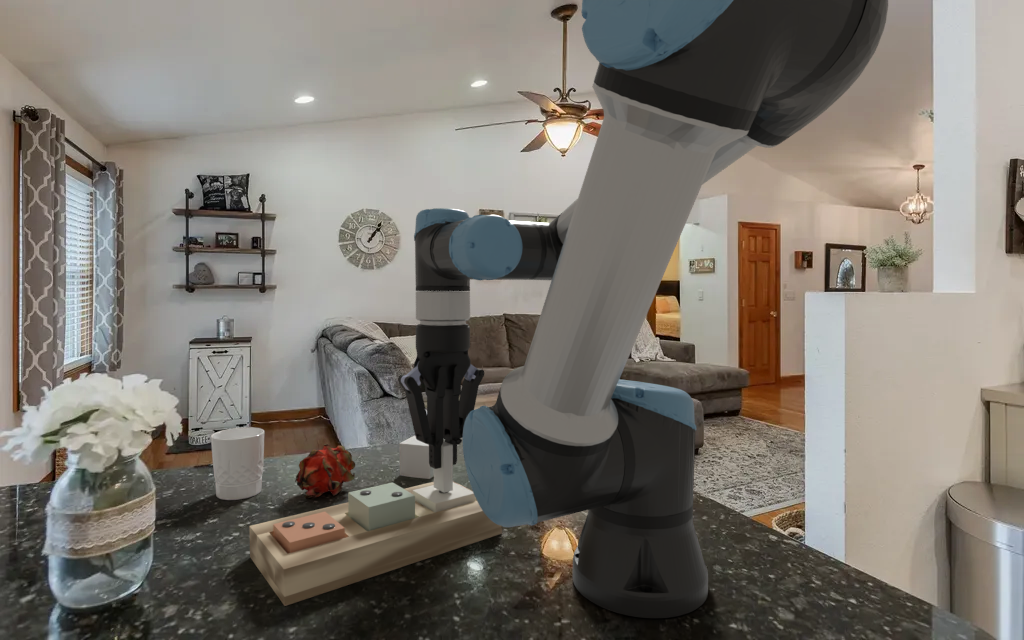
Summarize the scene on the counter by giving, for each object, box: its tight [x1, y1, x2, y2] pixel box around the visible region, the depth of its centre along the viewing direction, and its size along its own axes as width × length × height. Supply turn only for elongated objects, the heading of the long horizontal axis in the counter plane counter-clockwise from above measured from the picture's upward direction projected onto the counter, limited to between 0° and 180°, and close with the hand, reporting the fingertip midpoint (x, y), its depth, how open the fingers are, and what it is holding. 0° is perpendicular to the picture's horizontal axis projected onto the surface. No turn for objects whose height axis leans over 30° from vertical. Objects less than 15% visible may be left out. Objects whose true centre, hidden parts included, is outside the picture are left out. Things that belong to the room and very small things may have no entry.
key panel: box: [249, 480, 503, 607], centre depth 75 cm, size 14×29×4 cm, turn 128°
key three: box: [273, 512, 345, 554], centre depth 69 cm, size 6×6×4 cm
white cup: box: [210, 426, 265, 501], centre depth 93 cm, size 8×8×10 cm
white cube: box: [398, 434, 445, 480], centre depth 104 cm, size 6×6×6 cm
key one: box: [413, 481, 475, 512], centre depth 81 cm, size 6×6×4 cm
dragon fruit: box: [294, 443, 356, 499], centre depth 93 cm, size 8×8×12 cm
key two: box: [347, 482, 415, 531], centre depth 75 cm, size 6×6×4 cm
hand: (443, 488), depth 81 cm, fingers closed
